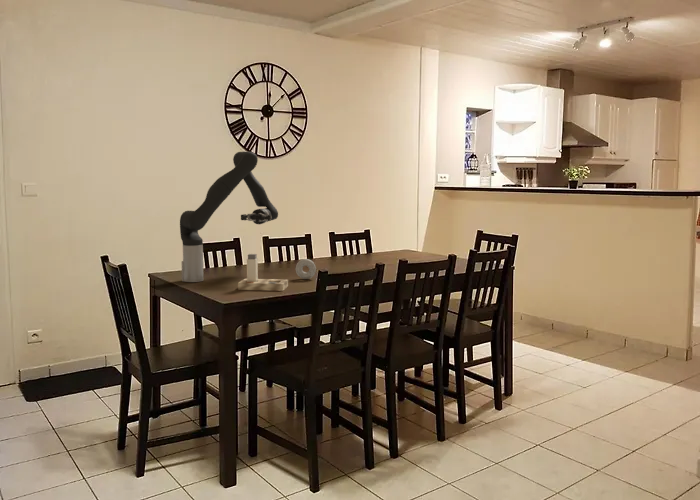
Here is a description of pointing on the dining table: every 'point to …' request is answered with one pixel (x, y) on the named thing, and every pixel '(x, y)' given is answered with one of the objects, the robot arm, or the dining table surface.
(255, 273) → the plug
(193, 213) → the robot arm
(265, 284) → the socket board
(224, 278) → the dining table surface
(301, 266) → the donut
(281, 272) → the dining table surface
